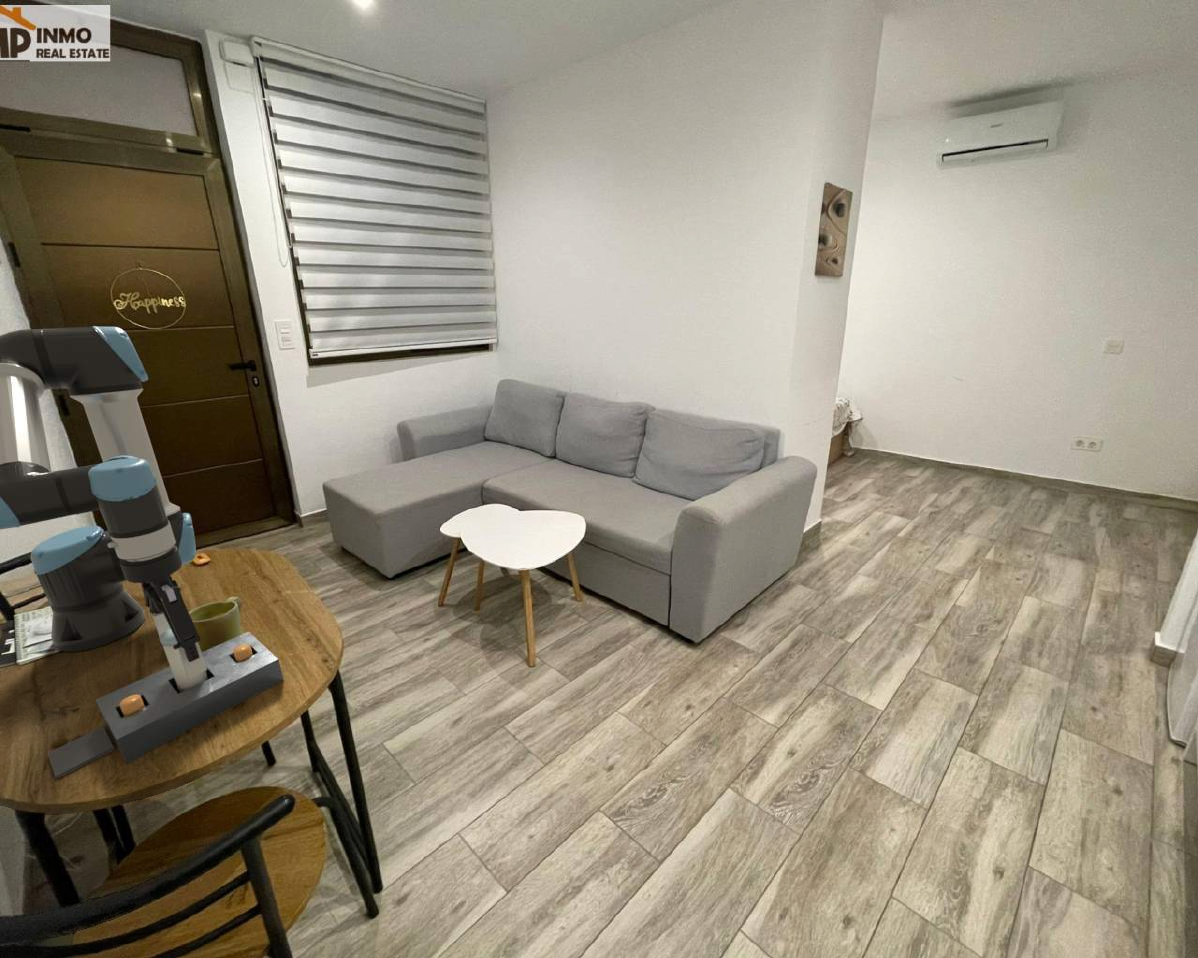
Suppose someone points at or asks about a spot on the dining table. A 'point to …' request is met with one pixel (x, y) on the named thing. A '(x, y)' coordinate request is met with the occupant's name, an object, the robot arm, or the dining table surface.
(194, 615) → the mug
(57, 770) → the mat
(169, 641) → the cartridge
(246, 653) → the orange egg shape
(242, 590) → the dining table surface
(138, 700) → the plunger near
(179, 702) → the housing
